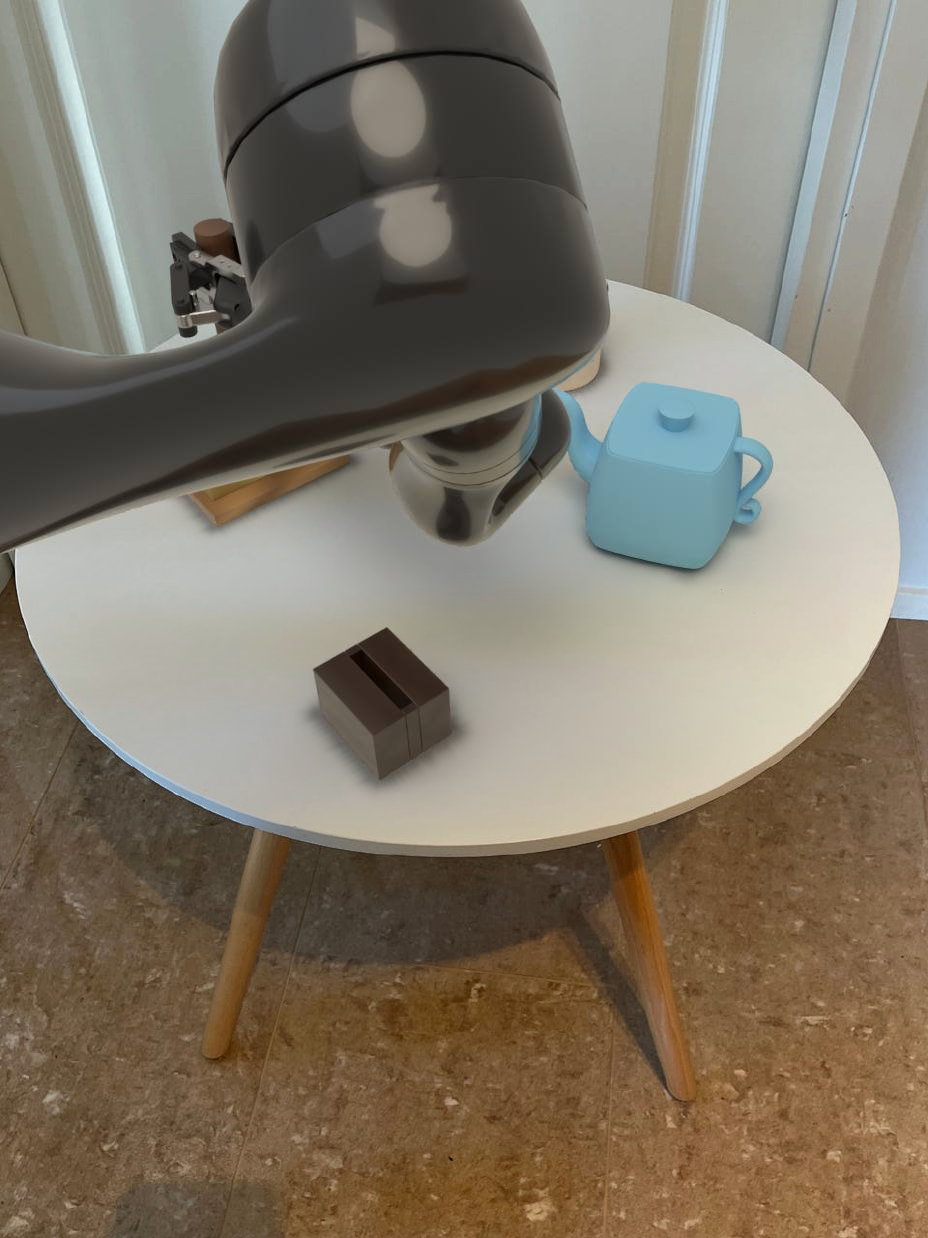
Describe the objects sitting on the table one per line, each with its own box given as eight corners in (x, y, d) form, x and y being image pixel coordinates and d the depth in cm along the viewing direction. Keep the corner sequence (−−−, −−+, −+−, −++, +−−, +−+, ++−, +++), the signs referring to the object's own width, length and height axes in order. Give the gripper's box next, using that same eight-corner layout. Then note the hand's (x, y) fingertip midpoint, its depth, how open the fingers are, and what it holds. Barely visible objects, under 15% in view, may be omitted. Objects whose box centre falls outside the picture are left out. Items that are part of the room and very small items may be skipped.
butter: (217, 527, 86) (205, 483, 83) (172, 479, 91) (159, 435, 87) (349, 463, 92) (343, 419, 88) (300, 420, 96) (293, 377, 93)
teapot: (559, 452, 92) (564, 337, 84) (767, 495, 88) (795, 377, 79) (513, 544, 84) (515, 427, 76) (740, 596, 80) (768, 478, 71)
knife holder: (379, 781, 69) (372, 735, 65) (321, 715, 73) (312, 668, 69) (452, 735, 71) (449, 688, 68) (392, 673, 75) (386, 626, 72)
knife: (250, 422, 84) (212, 245, 73) (220, 394, 87) (178, 219, 76) (278, 410, 85) (245, 233, 74) (247, 382, 88) (210, 208, 77)
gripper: (406, 245, 69) (270, 160, 78) (217, 321, 63) (95, 218, 73) (414, 346, 74) (285, 254, 84) (240, 424, 69) (124, 316, 78)
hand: (197, 238), depth 78 cm, fingers closed on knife, 2 cm apart
